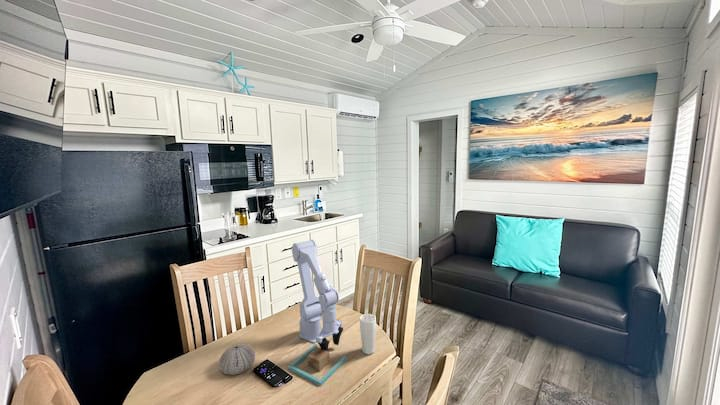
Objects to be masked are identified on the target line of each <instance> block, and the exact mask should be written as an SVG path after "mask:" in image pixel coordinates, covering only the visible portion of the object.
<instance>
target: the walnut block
mask: <svg viewBox="0 0 720 405" xmlns="http://www.w3.org/2000/svg"><path fill="white" fill-rule="evenodd" d="M306 358H307V366H308V367H310V368H311V369H313V370H316V371H318V372H321V371H323V369H324V368H325V367H326V366H327V365H329V364H330V352H329V350H328V351H326V350H323V349H321V347H320V346H319V347H318V346H317V348H316V349H315V350H313V351H312V352H311V353H310V354H309V355H308V356H307V357H306Z"/></svg>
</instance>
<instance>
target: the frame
mask: <svg viewBox="0 0 720 405" xmlns="http://www.w3.org/2000/svg"><path fill="white" fill-rule="evenodd" d="M317 347H318V344H315V343H314V344H313V345H312V346H311V347H310V348H309V349H307V350H306V351H305V352H303V354H301V355H300V356H299V357H298V358H296V359H295V360H294V361H293V362H292V363H290V364H289V365H288V366H287V369H288V370H289V371H291V372H293V373H295V374H296V375H299V376H300V377H302V378H304V379H306V380H308V381H310V382H312V383H314V384H316V385H318V386H320V387H321V386H322V385H324V383H326V382H327V381H328V380H329V378H331V376H332V375H333V374H334V373H335V372H336V371H337V370H338V369H339V368H341V366H342V365H343V364H344V363H345V362H346V361H347V356H343V357H341V359H339V361H338V362H336V364H334V366H332V368H331V369H329V370H328V372H326V373H325V374H324V376H323V377H321V378H319V377H317V376H315V375H312V374H310V373H308V372H306V371H304V370H302V369H300V368H299V367H296V366H297V365H299V364H300V363H301V362H302V361H304V359H306V358H308V357H307V356H308V355H309V354H310V353H311V352H312V351H313V350H315V349H316V348H317Z"/></svg>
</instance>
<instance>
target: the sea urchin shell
mask: <svg viewBox="0 0 720 405" xmlns="http://www.w3.org/2000/svg"><path fill="white" fill-rule="evenodd" d="M255 359H256V351H255V350H254V348H253V347H251V345H249V344H242V343H236V344H233V345H232V346H230V347H228V348H227V349H226V350H225V351H224V352H223V353H222V355H221V356H220V357H219V364H218V365H219V369H220V371H221V373H223V374H225V375H229V376H230V375H231V376H236V375H238V374H242V373H243V372H246V371H248V369H249V368H251V366H252V365H253V364H254V362H255Z"/></svg>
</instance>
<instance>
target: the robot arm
mask: <svg viewBox="0 0 720 405" xmlns="http://www.w3.org/2000/svg"><path fill="white" fill-rule="evenodd" d="M291 254H292V258H293V261H294V262H295V263H297V267H298V273H299V278H300V283H301V288H302V292H303V299H302V300H301V302H300V303H299V316H300V319H299V335H298V337H299V338H301V339H303V340H305V341H308V342H311V343H314V344H315V343H316V342H317V345H318V346H319V348H321V349H323V350H326V351H328V352H329V344H330V340H328V339H327V337H330V336H332V342H333V345H335V346H338V345H339V344H340V339H341V336H342V333H343V332H344V327H342V326H343V321H342V320H341V319H338V320H337V304H338V302H339V300H340V298H339V293H338V292H337V290H336V289H335V288H334V286H332V285H331V282H330V280H329V278H328V276H327V274H325V273H324V272H323V271H322V268H321V264H320V262H319V259H318V257H317V254H318V245H317V242H316V241H315V240H314V239H310V240H305V241H301V242H295V243H293V244H292V247H291ZM311 273H312V274H313V276H312V274H311ZM313 282H314V283H313ZM314 286H315V288H316V289H317V292H318V296H317V295H316V292H315V288H314ZM321 318H322V321H321Z"/></svg>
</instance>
